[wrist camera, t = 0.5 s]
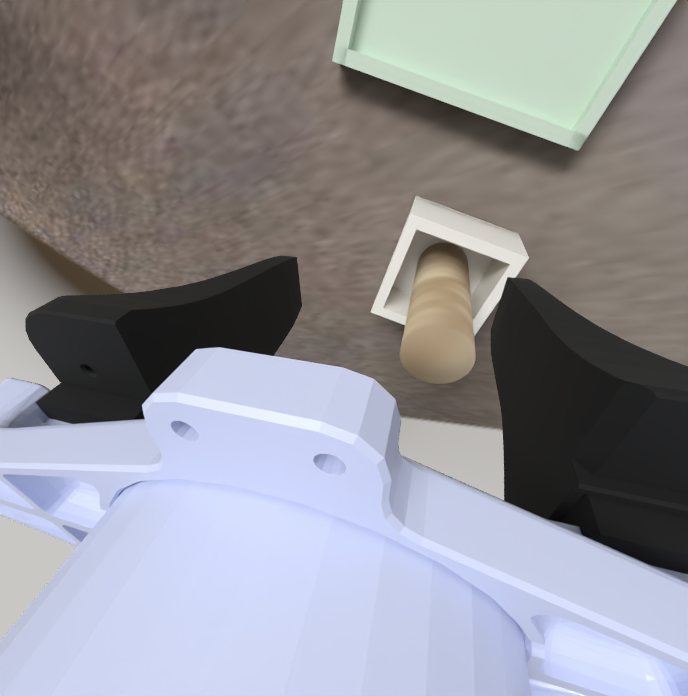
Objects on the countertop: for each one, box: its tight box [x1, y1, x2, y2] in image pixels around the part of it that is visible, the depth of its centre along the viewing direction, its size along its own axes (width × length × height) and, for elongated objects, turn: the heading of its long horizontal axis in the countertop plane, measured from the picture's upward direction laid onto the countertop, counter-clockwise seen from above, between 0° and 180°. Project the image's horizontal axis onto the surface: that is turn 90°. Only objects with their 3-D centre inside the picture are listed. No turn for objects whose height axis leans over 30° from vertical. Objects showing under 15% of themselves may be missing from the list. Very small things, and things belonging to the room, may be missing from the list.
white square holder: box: [371, 196, 529, 336], centre depth 20 cm, size 6×6×4 cm
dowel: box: [400, 242, 476, 384], centre depth 17 cm, size 3×3×9 cm
